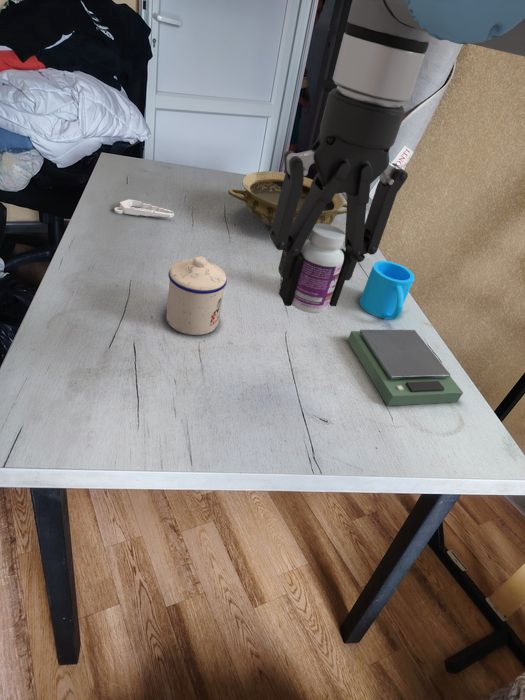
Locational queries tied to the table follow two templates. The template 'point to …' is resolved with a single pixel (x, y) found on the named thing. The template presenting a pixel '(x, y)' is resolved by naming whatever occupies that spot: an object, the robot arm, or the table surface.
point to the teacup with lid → (195, 296)
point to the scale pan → (404, 354)
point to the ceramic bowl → (266, 195)
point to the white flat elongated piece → (153, 211)
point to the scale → (403, 381)
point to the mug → (386, 289)
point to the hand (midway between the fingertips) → (307, 299)
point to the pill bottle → (319, 268)
